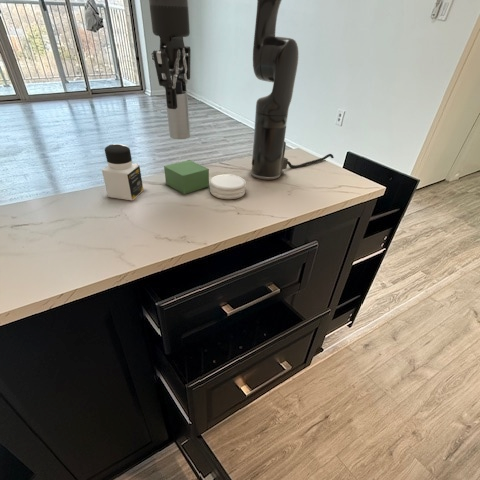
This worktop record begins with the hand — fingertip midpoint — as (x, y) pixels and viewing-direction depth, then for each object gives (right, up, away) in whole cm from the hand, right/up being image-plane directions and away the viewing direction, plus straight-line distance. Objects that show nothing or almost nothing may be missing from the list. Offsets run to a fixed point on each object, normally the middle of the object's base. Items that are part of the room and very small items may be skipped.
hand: (177, 105), depth 74 cm
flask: (0, -5, +5) cm, 6 cm away
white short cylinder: (+11, -14, +17) cm, 24 cm away
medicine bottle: (-17, -16, +13) cm, 26 cm away
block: (-1, -10, +19) cm, 22 cm away
